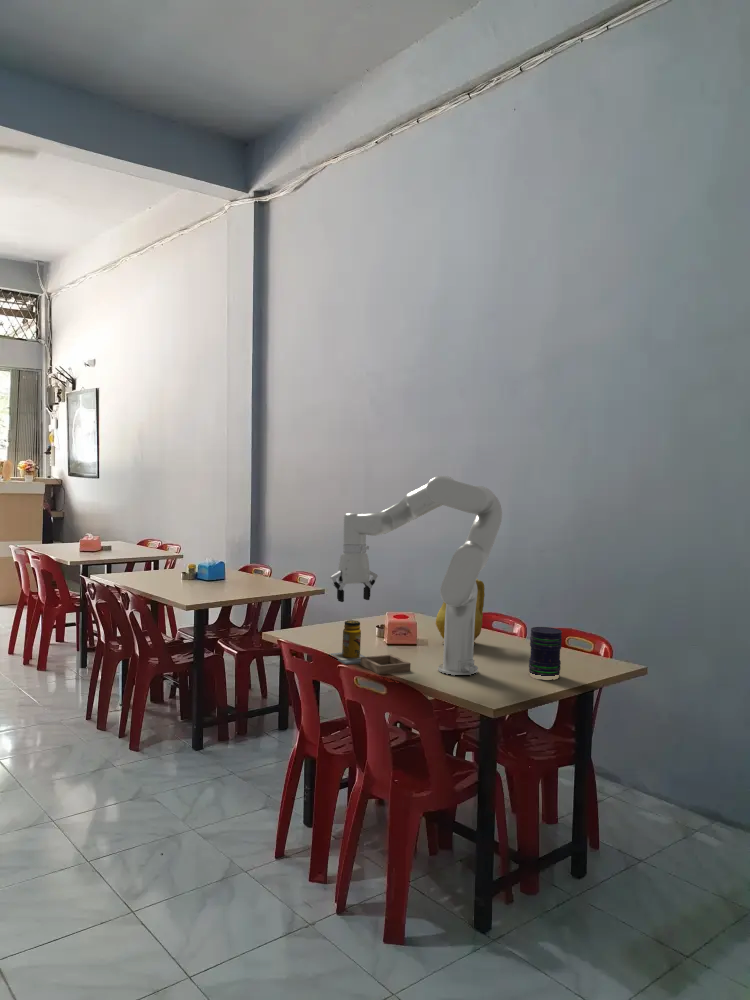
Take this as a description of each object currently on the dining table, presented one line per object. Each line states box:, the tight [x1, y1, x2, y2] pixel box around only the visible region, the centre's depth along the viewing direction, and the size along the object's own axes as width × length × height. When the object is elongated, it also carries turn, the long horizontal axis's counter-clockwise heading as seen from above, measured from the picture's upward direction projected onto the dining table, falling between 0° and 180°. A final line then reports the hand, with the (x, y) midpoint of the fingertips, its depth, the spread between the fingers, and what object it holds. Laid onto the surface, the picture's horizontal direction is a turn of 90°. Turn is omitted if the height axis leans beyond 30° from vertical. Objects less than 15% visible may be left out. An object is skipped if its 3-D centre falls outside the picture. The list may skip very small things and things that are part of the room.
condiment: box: [334, 619, 362, 660], centre depth 259 cm, size 7×8×12 cm
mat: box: [330, 652, 366, 665], centre depth 259 cm, size 13×10×1 cm
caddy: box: [360, 654, 412, 675], centre depth 249 cm, size 12×11×2 cm
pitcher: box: [435, 578, 486, 645], centre depth 288 cm, size 17×19×25 cm
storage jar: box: [528, 626, 563, 676], centre depth 246 cm, size 10×10×15 cm
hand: (353, 600), depth 259 cm, fingers open, 9 cm apart
